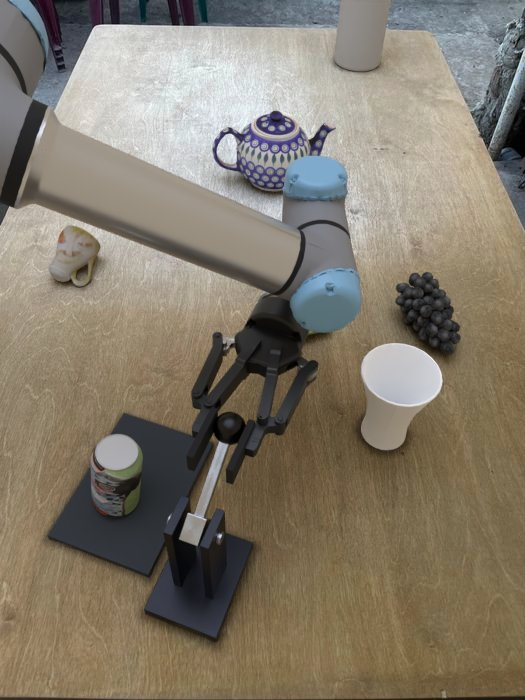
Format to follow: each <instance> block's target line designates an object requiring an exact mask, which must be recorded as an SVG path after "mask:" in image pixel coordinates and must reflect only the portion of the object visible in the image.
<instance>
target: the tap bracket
mask: <svg viewBox="0 0 525 700" xmlns="http://www.w3.org/2000/svg"><path fill="white" fill-rule="evenodd" d="M187 513H193V512H192V505H191V498H190V497H188V498H187V497H185V496H182V495H181V497H180V499H179V501H178V503H177V505H176V507H175V509H174V511H173V513H171V514H170V515H169V517H168V520H167V525H166V527H165V529H164V531H163V535H164V539H165V548H166V554H167V560H166V561H165V563H164V566H163V568H162V571H161V572H160V574H159V576H158V578H157V581H156V583H155V585H154V587H153V589H152V592H151V593H150V595H149V598H148V599H147V602H146V604H145V606H144V608H143V612H144V613H145V615H147V616H150V617H153V618H155V619H157V620H159V621H162V622H165V623H168V624H170V625H172V626H175V627H177V628H179V629H182V630H185V631H187V632H190V633H193V634H195V635H197V636H200V637H202V638H205V639H206V640H207V639H208V640H210V641H213V642H215V643H217V642H218V639H219V636H220V634H221V631H222V629H223V627H224V624H225V621H226V618H227V616H228V613H229V612H230V609H231V606H232V603H233V600H234V598H235V595H236V593H237V591H238V588H239V585H240V583H241V580H242V578H243V575H244V572H245V570H246V567H247V565H248V562H249V560H250V557H251V555H252V551H253V549H254V542H253V541H250V540H247V539H245V538H242V537H239V536H236V535H233V534H231V533H228V532H227V529H226V528H227V526H226V525H227V524H226V510H223V509H221V508H219V507H216V508H215V510H214V512H213V515H212V517H211V518H210V519H211V521H210V523H209V526H208V528H207V530H206V532H205V535H204V537H203V539H202V541H201V543H200V546H195V545H193V544H190V543H187V542H185V541H182V540H179V536H180V533H181V530H182V527H183V524H184V522H185V519H186V516H187Z"/></svg>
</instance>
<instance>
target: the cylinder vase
mask: <svg viewBox="0 0 525 700" xmlns="http://www.w3.org/2000/svg"><path fill="white" fill-rule="evenodd" d="M391 3H392V0H340V2H339V10H338V20H337V27H336V34H335V35H336V37H335V45H334V53H333V60H334V62H335V63H336V65H338V66H339V67H340V68H342V69H344V70H348V71H351V72H369V71H372V70H374V69H376V68H377V67H379V65H380V64H381V60H382V55H383V51H384V50H383V49H384V45H385V44H384V43H385V37H386V32H387V26H388V20H389V15H390V9H391Z"/></svg>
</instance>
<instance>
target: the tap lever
mask: <svg viewBox="0 0 525 700" xmlns="http://www.w3.org/2000/svg"><path fill="white" fill-rule="evenodd" d="M246 424H247V422H246V421H245V419H244V418H243V416H242V415H241V414H239V413H238V412H235V411H225V412H222V413H221V414H218V417H217V418H216V420H215V422H214V425H213V432H214V433H213V436H214V437H215V439H216V440H217V441H218V443H217V446H216V449H215V451H214V455H213V458H212V460H211V463H210V467H209V469H208V473H207V475H206V478H205V481H204V484H203V486H202V490H201V492H200V496H199V498H198V502H197V505H196V507H195V510H194V512H192V513H187V516H186V519H185V522H184V524H183V527H182V530H181V533H180V536H179V540H182V541H185V542H187V543H190V544H193V545H195V546H200V543H201V541H202V539H203V537H204V535H205V532H206V530H207V528H208V526H209V523H210V521H211V519H212V518H211V517H207V515H208V512H209V510H210V506H211V503H212V500H213V497H214V494H215V491H216V488H217V485H218V483H219V479H220V476H221V474H222V471H223V468H224V465H225V462H226V459H227V456H228V453H229V450H230V447H231V446H235V445H237V444H238V441H239V439H240V437H241V435H242V433H243V431H244V428H245V426H246Z"/></svg>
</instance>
